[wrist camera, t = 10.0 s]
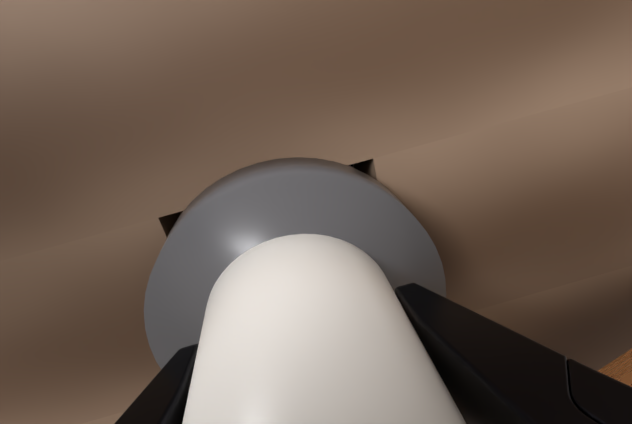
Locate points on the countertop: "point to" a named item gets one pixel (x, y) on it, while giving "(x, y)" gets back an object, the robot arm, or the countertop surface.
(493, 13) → the socket block
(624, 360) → the orange wooden strip
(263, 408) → the plug
